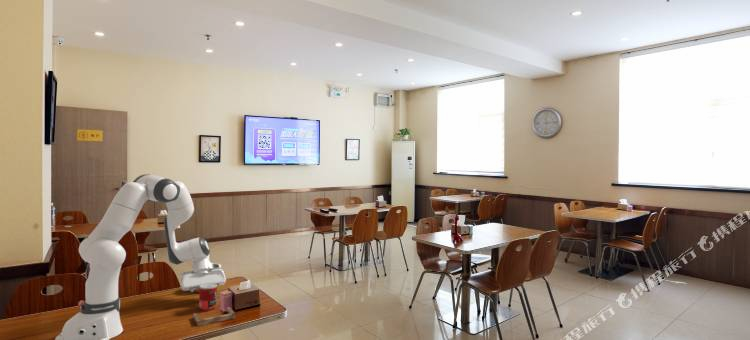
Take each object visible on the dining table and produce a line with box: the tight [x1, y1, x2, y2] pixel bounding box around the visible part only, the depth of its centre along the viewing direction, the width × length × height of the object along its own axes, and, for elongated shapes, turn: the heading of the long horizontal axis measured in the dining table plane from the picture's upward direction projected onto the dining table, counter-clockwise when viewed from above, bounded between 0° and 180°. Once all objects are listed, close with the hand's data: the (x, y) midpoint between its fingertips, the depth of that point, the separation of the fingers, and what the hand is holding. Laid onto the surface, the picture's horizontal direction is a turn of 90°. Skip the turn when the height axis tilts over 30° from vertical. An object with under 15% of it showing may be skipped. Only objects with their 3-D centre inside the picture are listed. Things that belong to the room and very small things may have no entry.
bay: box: [192, 306, 236, 327], centre depth 184 cm, size 16×10×2 cm, turn 123°
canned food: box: [198, 283, 218, 312], centre depth 196 cm, size 8×8×11 cm
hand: (206, 295), depth 200 cm, fingers closed, pressing on canned food
